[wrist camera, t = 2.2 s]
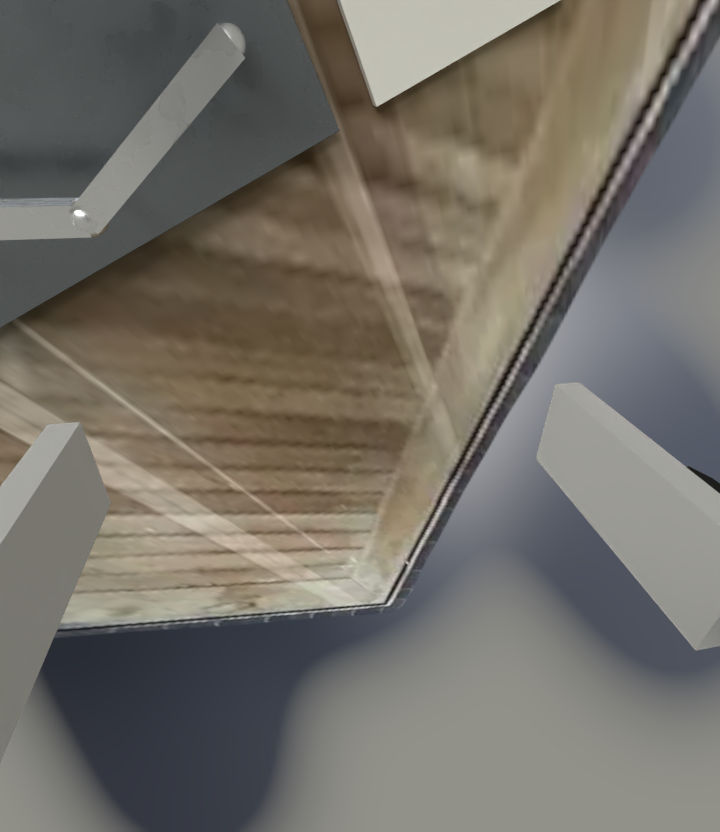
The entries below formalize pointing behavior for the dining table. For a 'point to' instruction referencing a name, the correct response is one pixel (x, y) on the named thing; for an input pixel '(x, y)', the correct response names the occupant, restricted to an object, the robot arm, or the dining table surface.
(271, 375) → the dining table surface
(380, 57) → the pad
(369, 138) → the dining table surface
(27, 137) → the grey platform with railing
